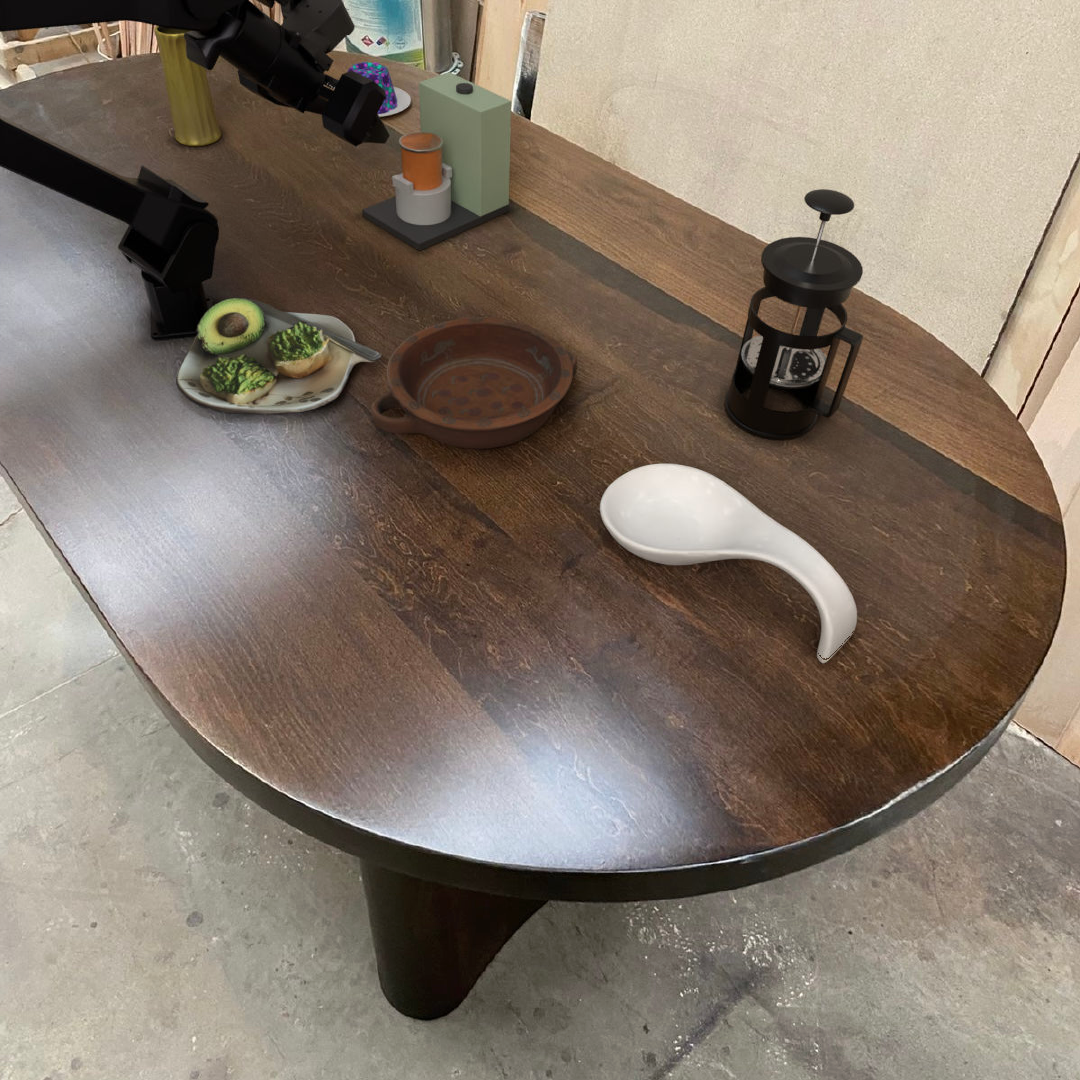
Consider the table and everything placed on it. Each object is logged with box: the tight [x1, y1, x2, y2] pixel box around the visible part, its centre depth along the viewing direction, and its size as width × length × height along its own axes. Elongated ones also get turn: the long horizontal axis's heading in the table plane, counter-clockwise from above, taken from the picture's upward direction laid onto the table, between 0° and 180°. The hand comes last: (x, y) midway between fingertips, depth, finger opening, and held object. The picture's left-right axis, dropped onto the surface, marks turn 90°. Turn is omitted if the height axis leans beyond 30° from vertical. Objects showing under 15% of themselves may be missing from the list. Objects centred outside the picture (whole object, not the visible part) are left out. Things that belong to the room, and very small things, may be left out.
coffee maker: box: [361, 72, 512, 252], centre depth 117 cm, size 15×11×15 cm
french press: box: [723, 188, 864, 441], centre depth 89 cm, size 12×9×23 cm
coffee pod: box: [398, 131, 443, 191], centre depth 116 cm, size 5×5×5 cm
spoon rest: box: [599, 463, 858, 664], centre depth 80 cm, size 24×12×7 cm, turn 48°
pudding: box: [347, 61, 412, 118], centre depth 142 cm, size 12×12×5 cm
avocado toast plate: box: [175, 297, 382, 415], centre depth 97 cm, size 19×18×5 cm
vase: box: [153, 25, 222, 147], centre depth 129 cm, size 6×6×14 cm
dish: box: [370, 316, 578, 450], centre depth 94 cm, size 18×22×5 cm
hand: (359, 125), depth 107 cm, fingers open, 9 cm apart
